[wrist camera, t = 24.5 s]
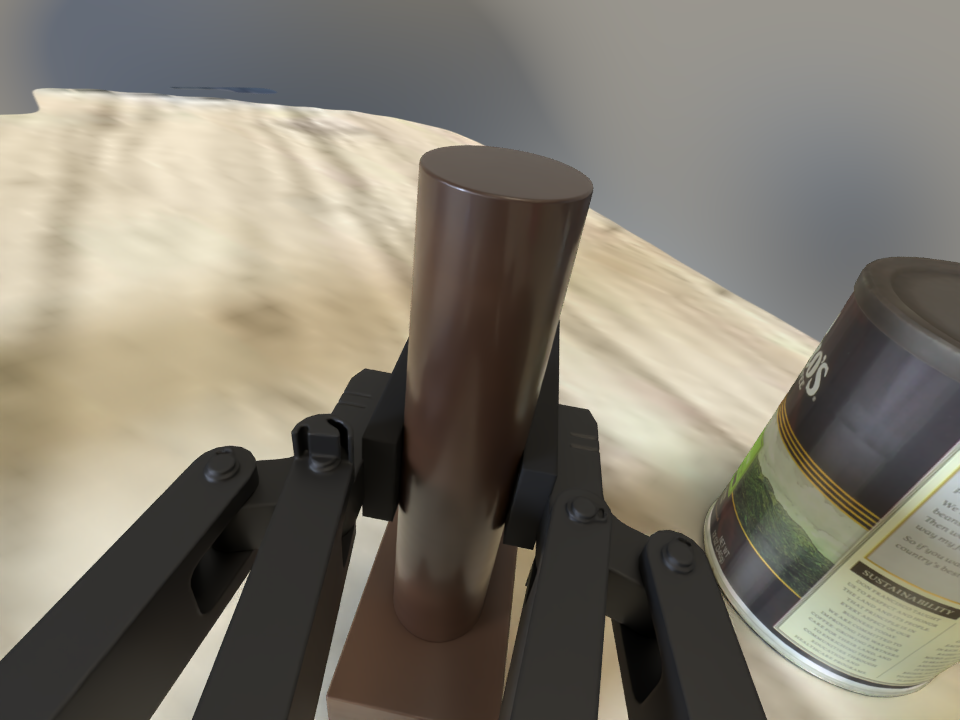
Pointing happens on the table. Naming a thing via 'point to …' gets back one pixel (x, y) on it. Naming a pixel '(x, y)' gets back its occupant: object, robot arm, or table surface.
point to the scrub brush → (463, 433)
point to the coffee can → (858, 493)
